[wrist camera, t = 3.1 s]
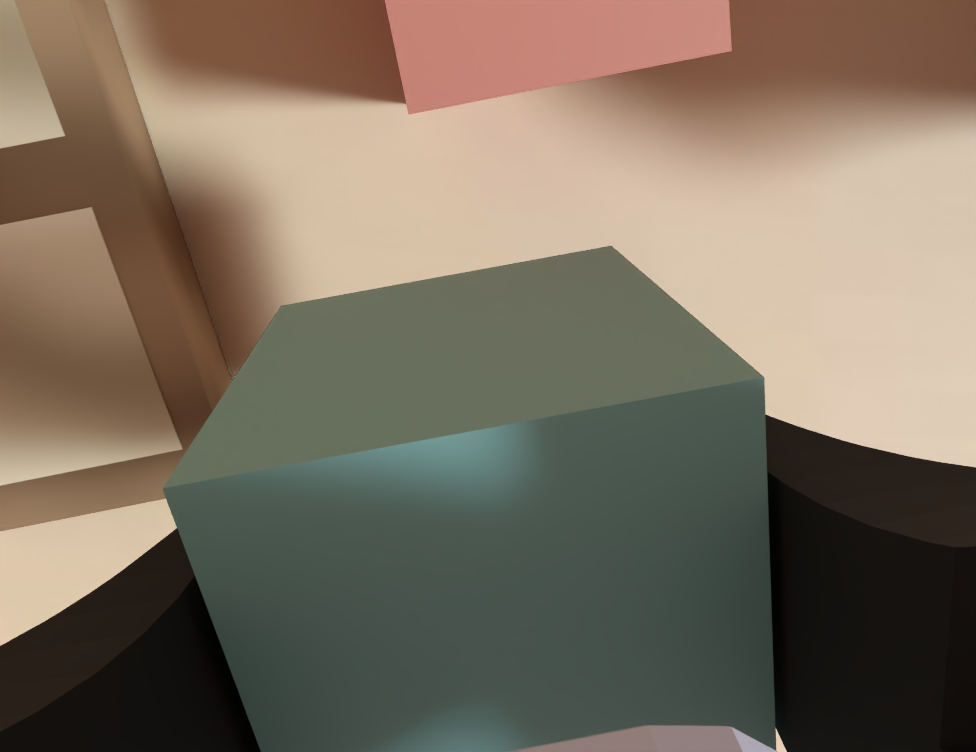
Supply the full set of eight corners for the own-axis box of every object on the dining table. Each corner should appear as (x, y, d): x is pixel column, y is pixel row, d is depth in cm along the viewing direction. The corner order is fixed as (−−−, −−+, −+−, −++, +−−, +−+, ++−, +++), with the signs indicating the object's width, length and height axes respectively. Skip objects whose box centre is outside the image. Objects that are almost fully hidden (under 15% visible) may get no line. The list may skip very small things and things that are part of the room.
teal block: (641, 527, 14) (778, 807, 9) (357, 581, 14) (314, 895, 9) (611, 245, 12) (763, 377, 7) (281, 306, 12) (162, 487, 7)
